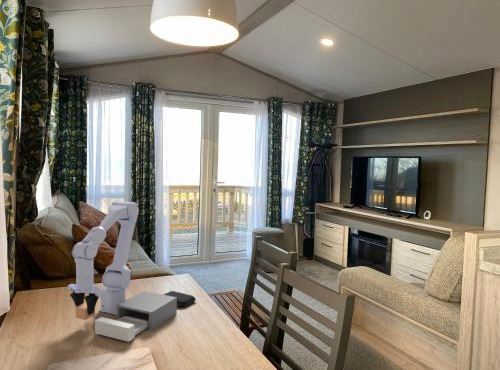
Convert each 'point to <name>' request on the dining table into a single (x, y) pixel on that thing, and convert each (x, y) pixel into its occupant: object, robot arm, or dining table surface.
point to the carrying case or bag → (182, 298)
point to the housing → (148, 308)
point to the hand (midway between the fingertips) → (85, 312)
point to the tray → (120, 327)
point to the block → (83, 312)
